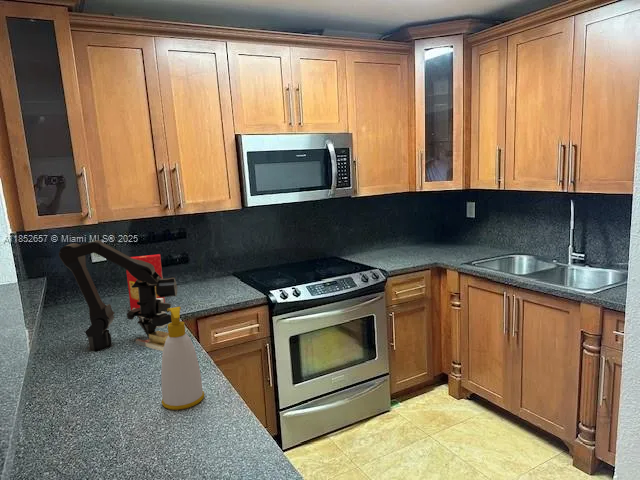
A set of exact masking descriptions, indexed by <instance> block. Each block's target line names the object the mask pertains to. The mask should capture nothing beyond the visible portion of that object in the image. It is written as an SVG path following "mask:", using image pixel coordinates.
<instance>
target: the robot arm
mask: <svg viewBox="0 0 640 480" xmlns="http://www.w3.org/2000/svg"><path fill="white" fill-rule="evenodd" d="M92 254H96V255H98V256H99V257H100V256H101V257H102V258H103V259H106V260H108V261H110V262H112V263H114V264H115V265H117V266H119V267H121V268H123V269H124V270H127V271H128V272H129V273H130V274H131V275H132V276H133V277H135V278H136V279H137V280H136V281H135V283H134V284H133V285H132V288H137V287H138V292H139V301H138V302H137V305H140V308H136V309H133V310H131V309H130V310H128V311H127V313H126V319H127V320H131V321H132V320H134V318H135V317H137V318H138V321H137V324H138V325H139V326H140V328H142V330H143V331H144V333H145V334H146V336H147V337H148V338H149V334H150V333H153V332H155V331H157V330H156V329H157V328H156V327H157V326H163V325H165V324H167V325H168V324H169V323H172V319H171V313H170V311H167V309H168V308H171V306H172V304H171V303H167V302H165V303H163V302H161V300H159V299H156V294H157V295H158V296H160V297H165V298H170V297H177V296H178V285H177V281H176V277H169V278H163V279H161V277H160V276H159V275H158V273H157V272H156V271H155V268H154V266H153V265H152V264H150V263H147V262H145V261H141V260H136V259H133V258H131V257H132V256H129V255H127V254H125V253H123V252H122V251H119V250H117V249H115V248H114V247H112V246H110V245H108V244H106V243H104V242H103V241H102V240H100V239H97V240H93V241H90V242H85V243H81V244H79V243H75V242H73V243H69V244H67V245H64V246H63V247H61V248H60V249H59V252H58V257H59V258H60V260H61V261H62V264H63V265H64V266H65V267H67V269H69V270H70V271H71V272H72V274H73V276H74V278H75V281H76V283H77V285H78V287H79V290H80V292H81V294H82V296H83V298H84V300H85V302H86V304H87V306H88V314H89V315H88V316H89V320H90V324H91V325H90V326H89V327H88V328H86V330H85V331H84V333H85V335H86V336H87V338H88V339H87V340H88V348H87V350H89V351H93V352H95V353H97V352H101V351H103V350H106V349H109V348H111V347H113V346H114V345H113V343H112V335H111V333H110V330H109V328H110V325H111V324H112V323H113V321H114V319H115V313H116V312H114V311H113V308H112V305H111V304H110V303H108V304H105V303H104V302H103V300H102V299H101V296H100V294H99V292H98V289H97V287H96V286H95V282H94V280H93V279H92V276H91V274H90V272H89V269H88V268H87V264H86V263H87V262H86V261H87V260H86V259H87V258H86V256H87V255H88V256H89V255H92ZM141 281H142V282H141ZM155 286H156V292H155ZM161 311H164V312H165V313H163V314H160V313H161ZM169 313H170V314H169ZM157 314H160V315H157Z"/></svg>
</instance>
